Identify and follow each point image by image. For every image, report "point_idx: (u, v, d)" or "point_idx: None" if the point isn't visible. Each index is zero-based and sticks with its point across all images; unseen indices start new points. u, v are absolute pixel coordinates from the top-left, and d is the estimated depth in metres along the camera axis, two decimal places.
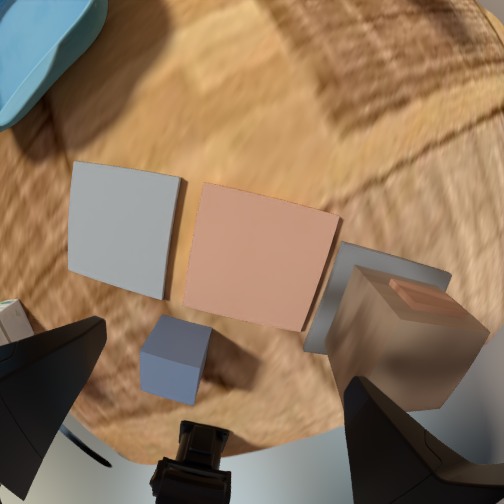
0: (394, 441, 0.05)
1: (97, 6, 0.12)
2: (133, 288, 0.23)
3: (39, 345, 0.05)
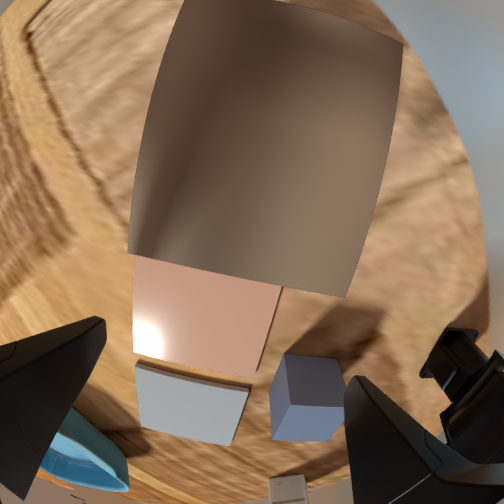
0: (394, 441, 0.05)
1: None
2: (239, 409, 0.24)
3: (39, 345, 0.05)
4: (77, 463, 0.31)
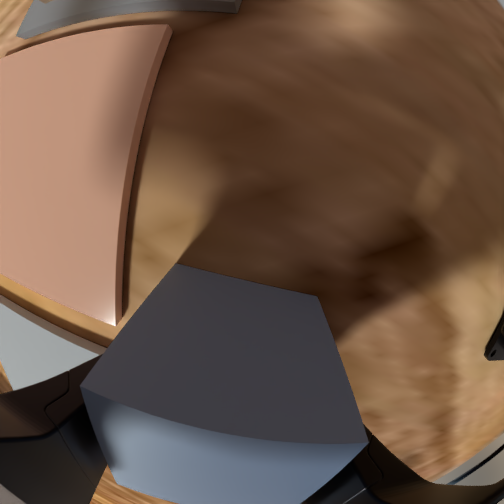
0: None
1: None
2: None
3: None
4: None
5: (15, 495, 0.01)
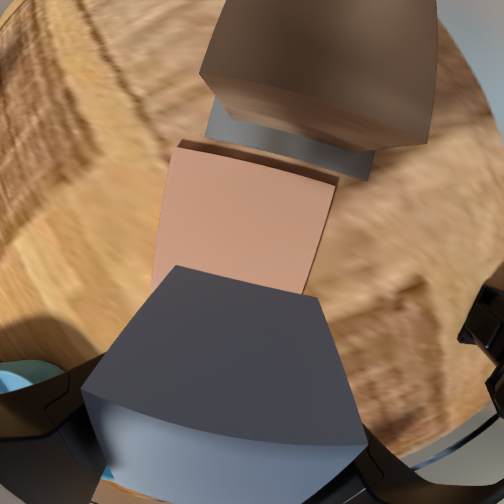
0: None
1: (40, 379, 0.20)
2: None
3: None
4: None
5: (15, 495, 0.01)
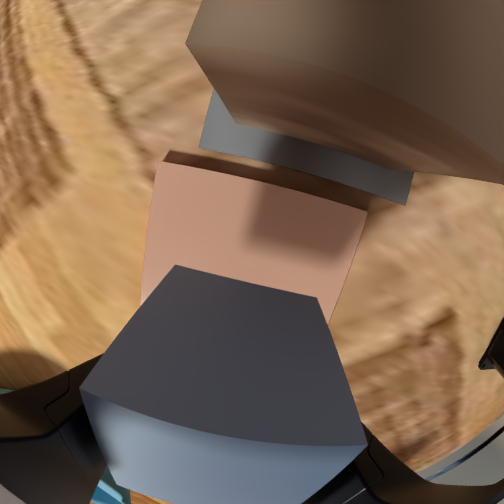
0: None
1: None
2: None
3: None
4: None
5: (15, 495, 0.01)
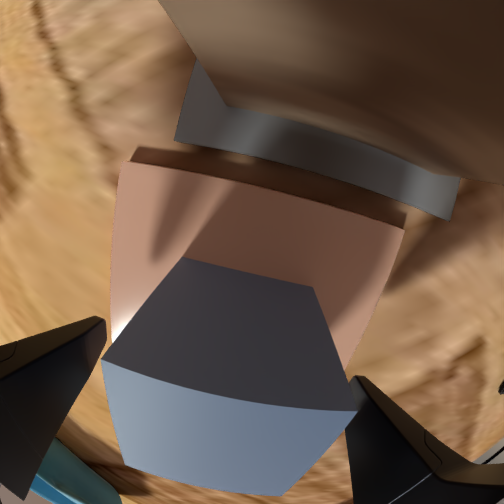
0: (394, 441, 0.05)
1: None
2: None
3: (39, 345, 0.05)
4: None
5: None
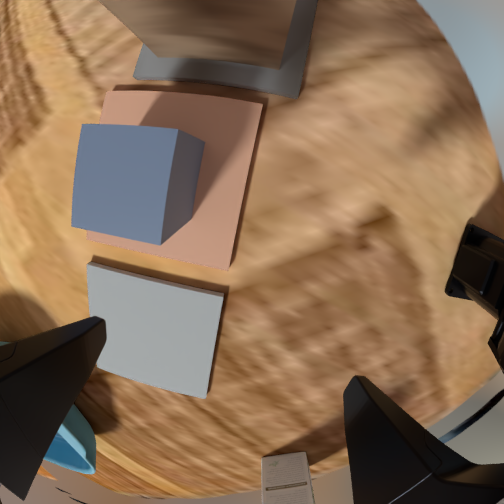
0: (394, 441, 0.05)
1: None
2: (212, 330, 0.20)
3: (39, 345, 0.05)
4: None
5: None
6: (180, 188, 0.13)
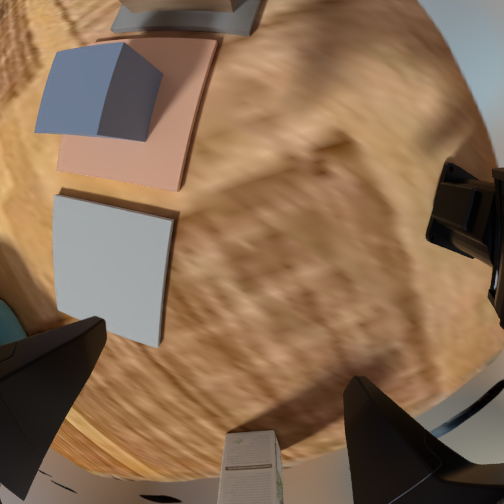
0: (394, 441, 0.05)
1: None
2: (161, 260, 0.19)
3: (39, 345, 0.05)
4: None
5: None
6: (126, 97, 0.12)
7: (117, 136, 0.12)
